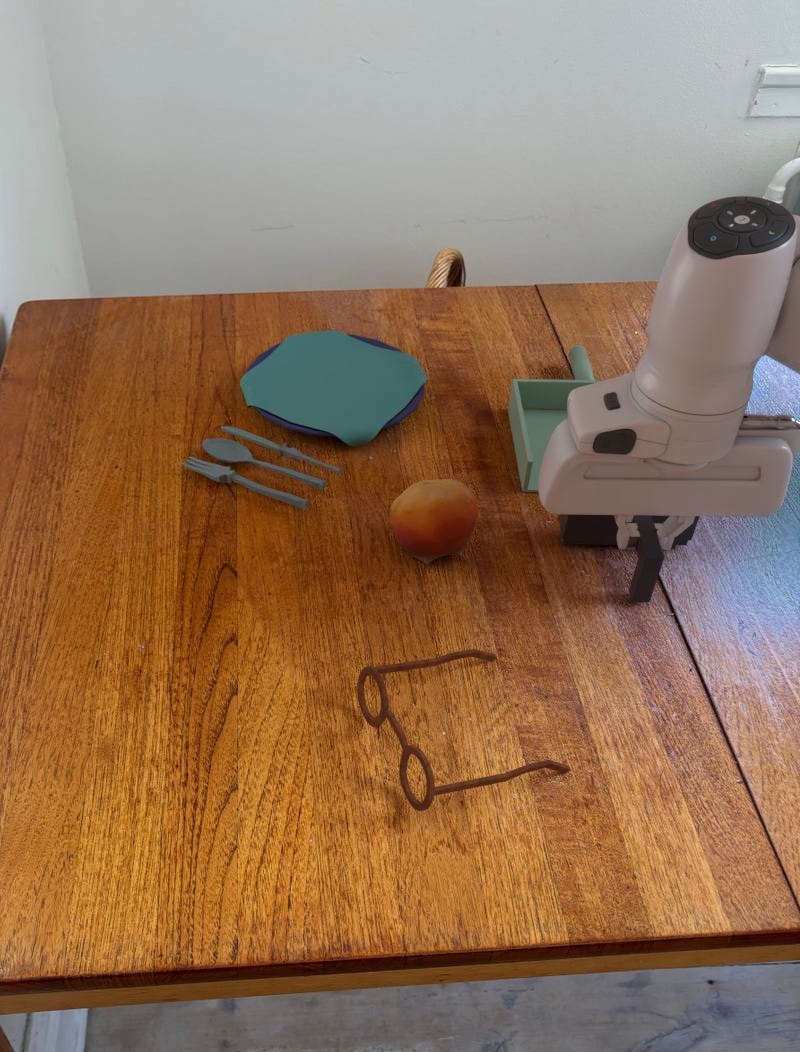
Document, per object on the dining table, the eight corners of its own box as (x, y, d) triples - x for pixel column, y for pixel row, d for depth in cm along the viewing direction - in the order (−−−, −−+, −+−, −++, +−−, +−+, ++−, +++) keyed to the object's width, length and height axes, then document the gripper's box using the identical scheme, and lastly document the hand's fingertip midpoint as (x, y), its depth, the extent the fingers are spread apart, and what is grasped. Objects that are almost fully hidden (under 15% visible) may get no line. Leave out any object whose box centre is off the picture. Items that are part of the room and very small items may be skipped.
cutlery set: (454, 379, 118) (456, 361, 117) (318, 527, 100) (318, 508, 99) (304, 330, 125) (304, 313, 123) (152, 461, 107) (150, 443, 106)
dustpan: (692, 495, 104) (702, 464, 102) (522, 492, 104) (528, 461, 102) (646, 366, 120) (654, 336, 118) (499, 363, 121) (503, 334, 118)
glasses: (352, 698, 86) (354, 658, 82) (494, 657, 89) (502, 616, 85) (419, 825, 77) (424, 786, 74) (572, 775, 81) (585, 735, 77)
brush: (556, 524, 100) (566, 480, 96) (681, 526, 100) (697, 481, 96) (573, 601, 93) (584, 556, 89) (708, 603, 93) (725, 558, 89)
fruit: (424, 583, 93) (408, 496, 91) (387, 569, 100) (372, 488, 98) (502, 558, 95) (488, 473, 93) (461, 546, 103) (447, 467, 100)
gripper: (802, 393, 85) (750, 523, 95) (550, 390, 85) (524, 520, 95) (826, 439, 80) (769, 570, 91) (561, 436, 81) (533, 567, 91)
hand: (642, 545), depth 93 cm, fingers closed on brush
